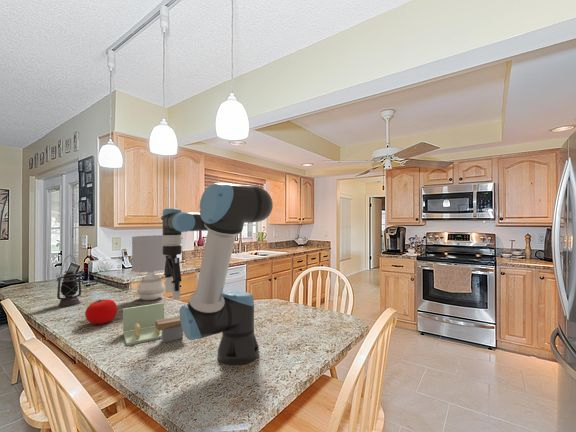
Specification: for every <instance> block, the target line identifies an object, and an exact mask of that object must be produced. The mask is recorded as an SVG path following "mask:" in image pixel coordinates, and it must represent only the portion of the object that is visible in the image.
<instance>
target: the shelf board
mask: <svg viewBox="0 0 576 432" xmlns="http://www.w3.org/2000/svg"><path fill="white" fill-rule="evenodd" d="M179 326H181V322H180V315H177V316H172V317H167V318H166V317H165V318H164V319H160V320H156V328H157V329H158V331H160V330H165V329H169V328H174V327H179Z"/></svg>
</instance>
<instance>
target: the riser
mask: <svg viewBox="0 0 576 432" xmlns="http://www.w3.org/2000/svg"><path fill="white" fill-rule="evenodd" d="M181 338H183V339H184V332H183V330H182V327H181V326H179V327H174V328H169V329H165V330H162V338H161V342H162V344H164V342H165V343H169V341H170V342H173V340H174V341H178V340H177V339H179V340H182V339H181Z"/></svg>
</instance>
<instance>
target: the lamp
mask: <svg viewBox="0 0 576 432" xmlns="http://www.w3.org/2000/svg"><path fill="white" fill-rule="evenodd" d="M162 235H163V234H162ZM162 235H156V234H154V235H134V236H132V238H131V244H132V245H131V260H132V261H131V271H132V272H135V273H136V272H137V273H146V274H147V275H145V276H144V277H142V278H141V280H140V282H139V283H138V285H137V288H136V295H137V296H138V298H139V299H141V300H142V301H155V300H158V299H160V298H161V297H162V296H163V295H164V294H165V283H164V282H163V279H161V278H160V277H159V276H158V275H156V274H155V272H161V271H165V262H166V255H163V246H164V245H163V244H162Z"/></svg>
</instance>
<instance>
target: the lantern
mask: <svg viewBox="0 0 576 432" xmlns="http://www.w3.org/2000/svg"><path fill="white" fill-rule="evenodd" d="M69 257H71V258H73V260H74V263H75V267H76V269H77V272H78V273H79V274H77V273H76V270H72V269H68V270H66V271H62V270H64V267H65V261H66V259H67V258H69ZM62 265H63V266H62V268H61V270H60V272H59V275H58V277H57V278H56V282H58V283H57V292H56V299H57V300H59V303H58V305H57V306H58V307H59V308H65V307H66V308H68V307H72V306H73V307H74V306H77V305H80V304H81V301H80V299H79V297H80V296H81V295H82V284H81V279H82V274H81V273H80V270H79V268H78V266H77V262H76V260H75V257H73V256H72V255H71V254H69V255H68V256H67V257H65V258H64V260H63V264H62ZM62 272H63V273H65V274H62ZM61 274H62V276H61ZM77 277H78V278H77ZM75 278H76V279H77V280H76V279H75ZM61 279H64V280H62V282H61ZM77 281H78V282H77ZM77 292H78V294H77ZM60 293H61V294H60ZM60 295H62V296H63V297H61V296H60Z"/></svg>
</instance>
